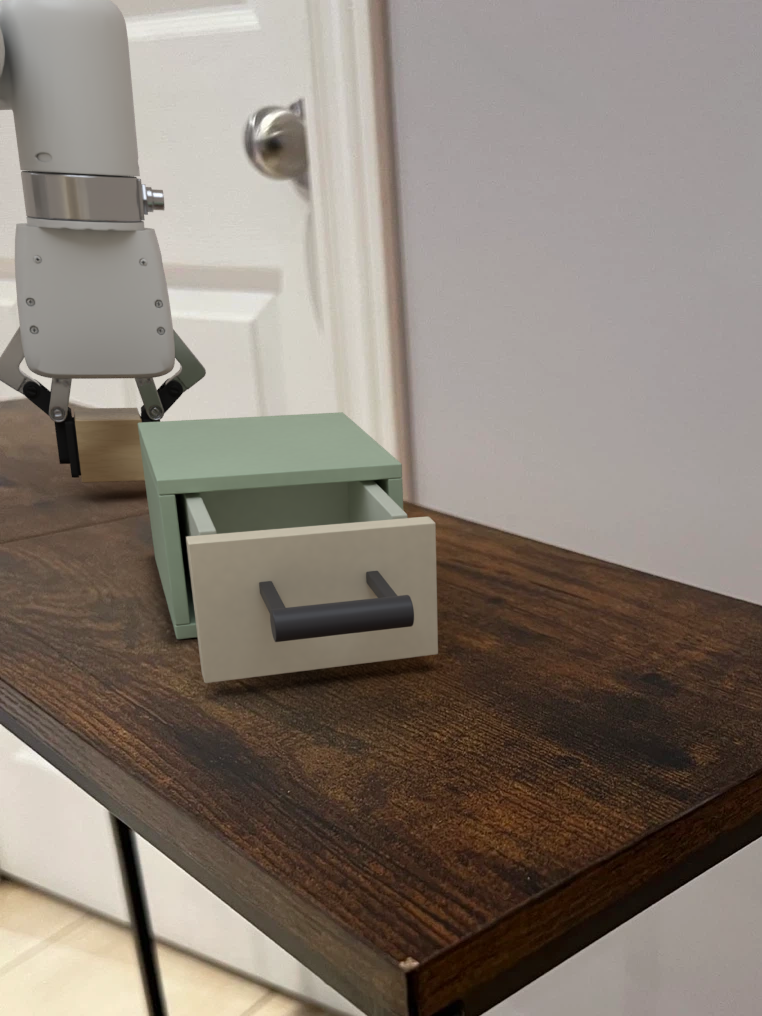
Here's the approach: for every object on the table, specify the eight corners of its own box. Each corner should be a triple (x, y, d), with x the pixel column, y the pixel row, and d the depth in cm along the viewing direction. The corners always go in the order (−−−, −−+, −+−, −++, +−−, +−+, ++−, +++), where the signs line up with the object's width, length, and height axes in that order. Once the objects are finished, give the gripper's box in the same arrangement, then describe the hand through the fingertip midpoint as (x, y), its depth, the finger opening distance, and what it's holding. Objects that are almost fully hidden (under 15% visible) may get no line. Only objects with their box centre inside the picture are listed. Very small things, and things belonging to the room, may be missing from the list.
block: (82, 483, 83) (74, 420, 81) (80, 469, 87) (73, 408, 85) (147, 480, 85) (141, 419, 83) (143, 467, 88) (137, 407, 86)
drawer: (473, 699, 53) (473, 558, 50) (220, 735, 49) (203, 584, 46) (374, 572, 69) (369, 459, 66) (177, 591, 65) (162, 472, 62)
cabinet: (406, 614, 65) (402, 463, 61) (176, 640, 61) (156, 479, 57) (350, 541, 77) (343, 411, 74) (155, 558, 73) (137, 422, 69)
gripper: (206, 208, 84) (223, 457, 92) (-50, 197, 78) (-9, 464, 86) (219, 212, 78) (236, 480, 85) (-59, 200, 72) (-14, 489, 80)
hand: (112, 469), depth 85 cm, fingers closed on block, 4 cm apart
